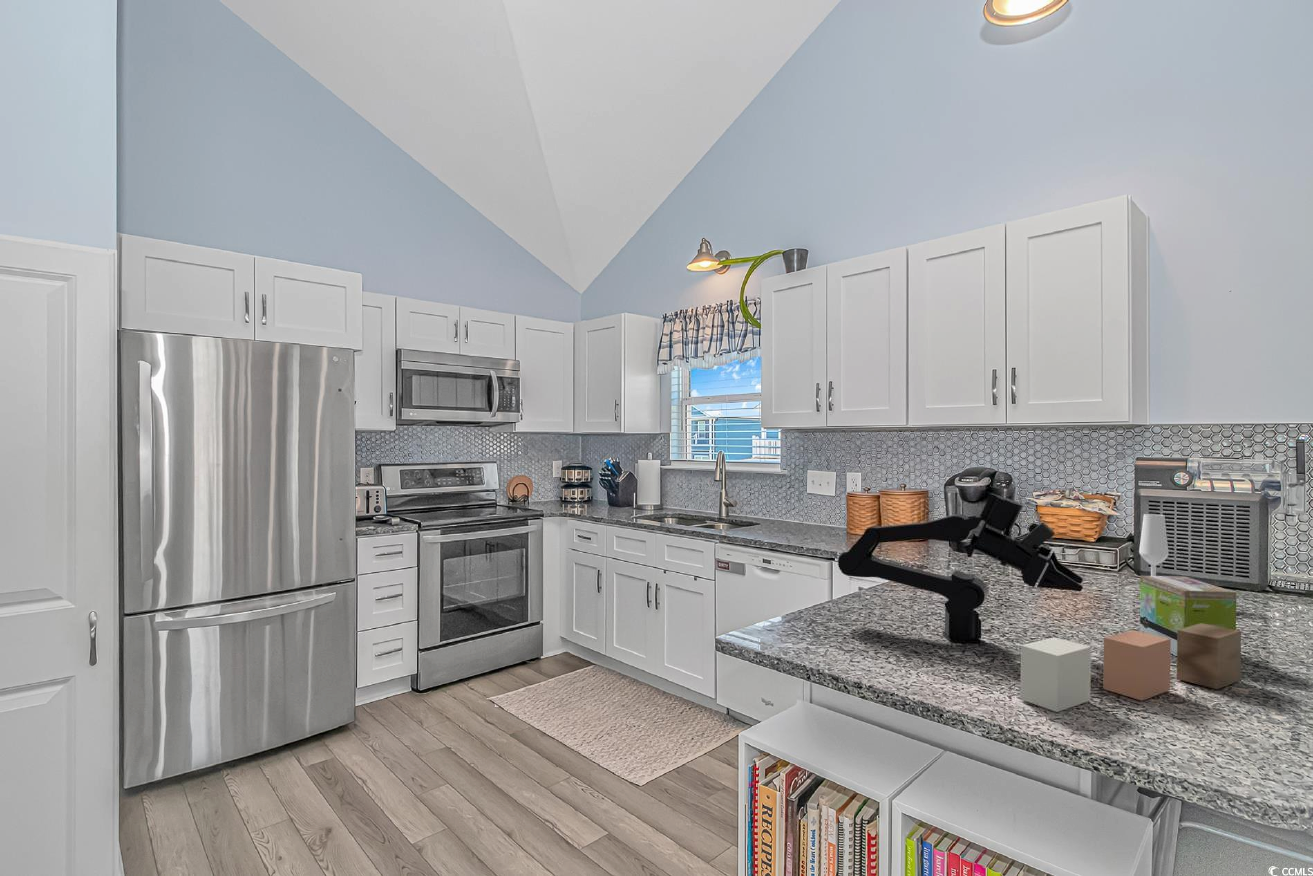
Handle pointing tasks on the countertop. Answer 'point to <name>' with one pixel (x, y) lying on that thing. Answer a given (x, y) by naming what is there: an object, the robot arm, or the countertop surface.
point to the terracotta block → (1136, 664)
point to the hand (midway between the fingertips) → (1082, 585)
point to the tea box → (1183, 606)
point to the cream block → (1055, 673)
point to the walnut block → (1209, 655)
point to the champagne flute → (1153, 540)
